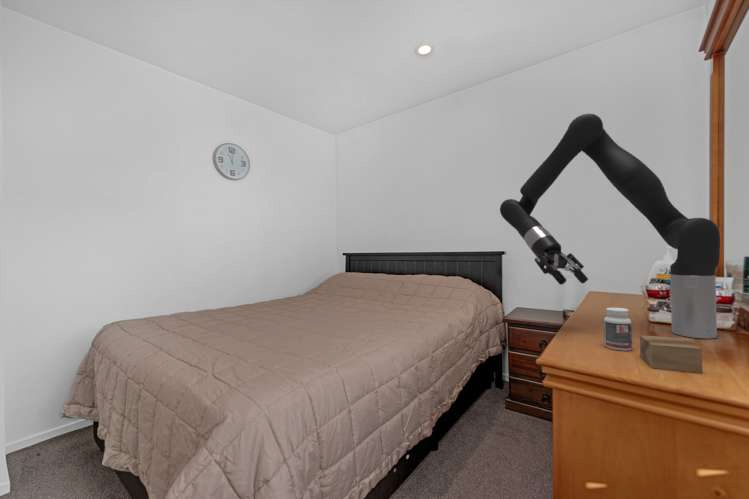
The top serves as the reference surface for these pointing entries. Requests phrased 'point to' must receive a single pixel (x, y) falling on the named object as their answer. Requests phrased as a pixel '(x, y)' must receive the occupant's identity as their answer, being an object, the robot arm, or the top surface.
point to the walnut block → (671, 353)
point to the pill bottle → (618, 329)
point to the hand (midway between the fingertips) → (574, 282)
